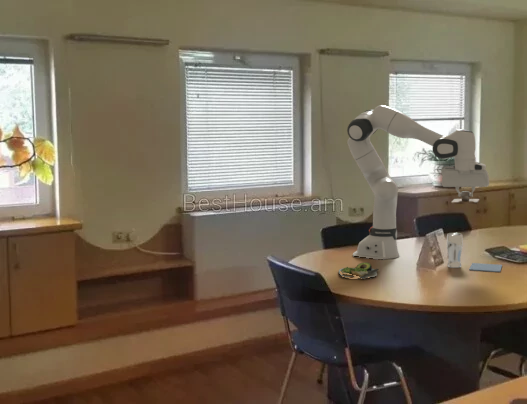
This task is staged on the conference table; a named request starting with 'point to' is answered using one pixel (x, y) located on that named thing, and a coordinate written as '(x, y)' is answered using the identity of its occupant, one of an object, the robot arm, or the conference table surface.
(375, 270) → the salad plate
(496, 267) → the slate mat
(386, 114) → the robot arm
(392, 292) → the conference table surface
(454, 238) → the beer glass
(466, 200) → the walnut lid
